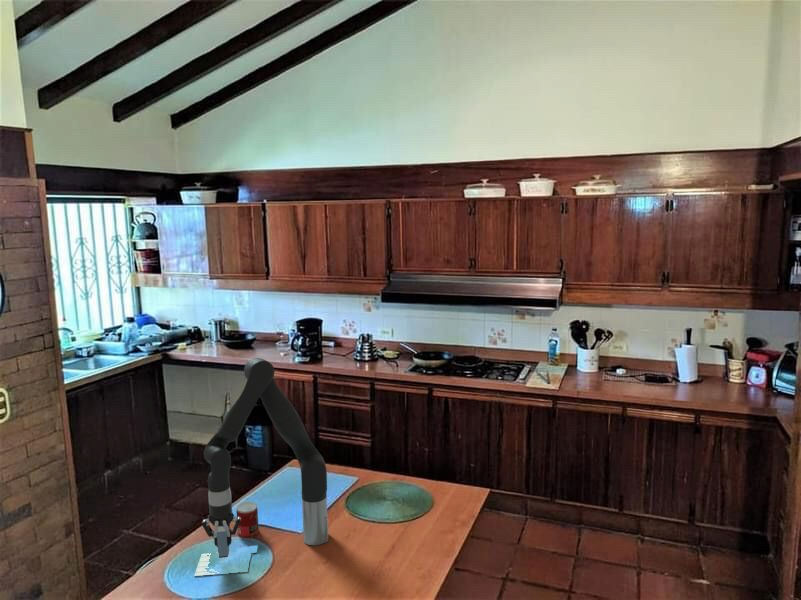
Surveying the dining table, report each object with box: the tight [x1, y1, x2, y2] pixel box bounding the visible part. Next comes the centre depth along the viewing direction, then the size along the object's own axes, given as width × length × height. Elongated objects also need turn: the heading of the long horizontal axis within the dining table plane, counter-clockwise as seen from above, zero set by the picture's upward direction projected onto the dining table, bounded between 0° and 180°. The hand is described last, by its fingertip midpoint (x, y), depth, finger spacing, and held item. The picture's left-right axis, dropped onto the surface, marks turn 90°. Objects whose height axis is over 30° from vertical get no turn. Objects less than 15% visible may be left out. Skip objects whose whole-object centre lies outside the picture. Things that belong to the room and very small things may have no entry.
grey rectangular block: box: [217, 525, 230, 558], centre depth 212 cm, size 3×3×12 cm
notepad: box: [193, 552, 219, 578], centre depth 213 cm, size 18×13×1 cm
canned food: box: [235, 501, 260, 539], centre depth 232 cm, size 8×8×11 cm
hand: (223, 545), depth 212 cm, fingers closed on grey rectangular block, 3 cm apart
